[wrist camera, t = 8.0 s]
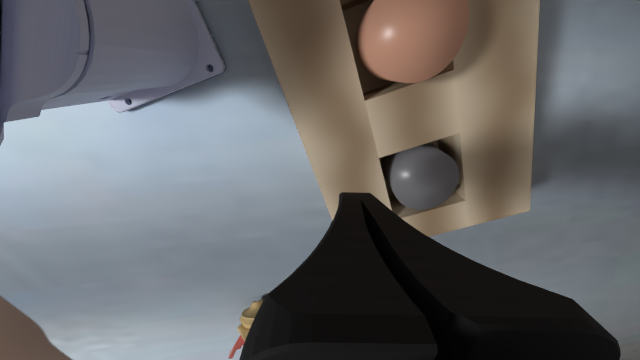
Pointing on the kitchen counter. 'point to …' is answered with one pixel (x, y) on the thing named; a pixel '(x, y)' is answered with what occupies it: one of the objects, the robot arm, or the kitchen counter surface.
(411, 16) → the knob middle
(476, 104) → the mount
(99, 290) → the kitchen counter surface
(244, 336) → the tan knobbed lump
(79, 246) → the kitchen counter surface
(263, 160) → the kitchen counter surface
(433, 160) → the knob
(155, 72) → the robot arm
